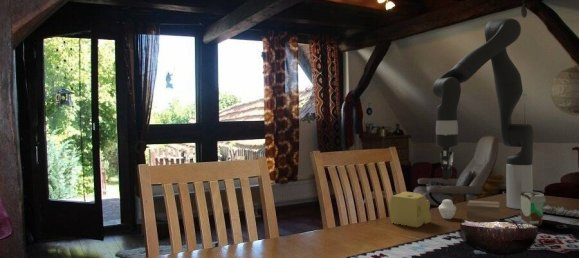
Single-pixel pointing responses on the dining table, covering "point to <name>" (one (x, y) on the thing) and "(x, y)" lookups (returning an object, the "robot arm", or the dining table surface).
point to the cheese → (410, 209)
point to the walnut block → (482, 211)
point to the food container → (532, 207)
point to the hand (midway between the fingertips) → (447, 177)
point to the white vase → (447, 209)
